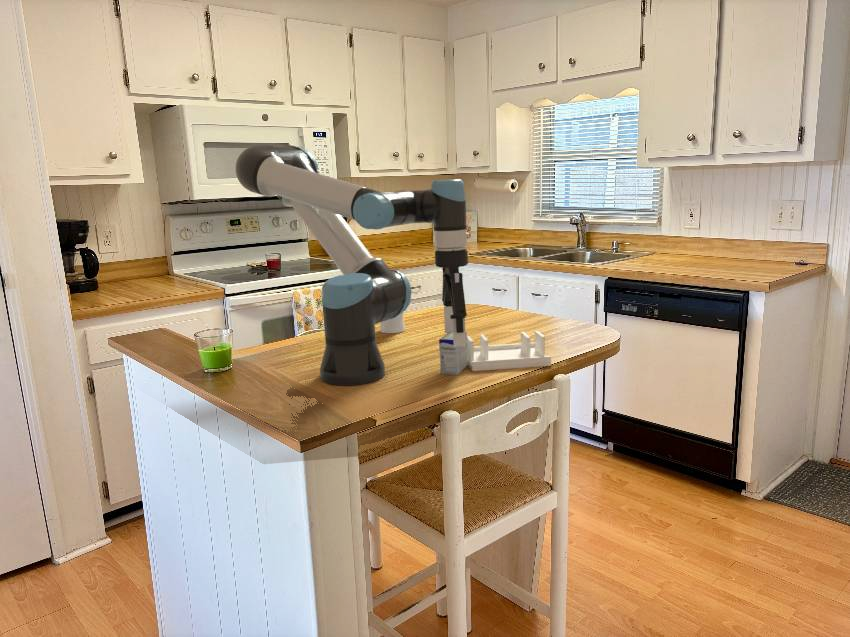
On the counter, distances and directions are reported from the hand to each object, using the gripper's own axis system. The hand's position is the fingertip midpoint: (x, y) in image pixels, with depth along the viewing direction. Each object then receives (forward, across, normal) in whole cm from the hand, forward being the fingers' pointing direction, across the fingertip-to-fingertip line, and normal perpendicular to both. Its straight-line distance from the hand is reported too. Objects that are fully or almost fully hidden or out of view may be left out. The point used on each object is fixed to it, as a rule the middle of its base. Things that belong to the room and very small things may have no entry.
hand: (455, 339), depth 150 cm
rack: (+8, +5, -13) cm, 16 cm away
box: (+8, 0, 0) cm, 8 cm away
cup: (+7, +44, +12) cm, 47 cm away
